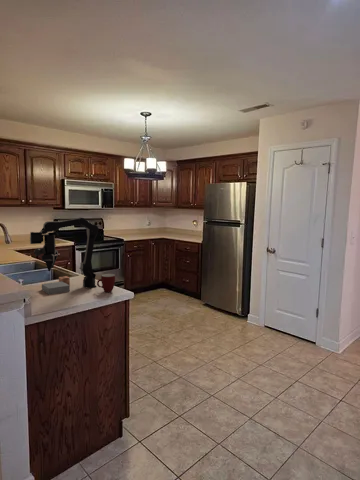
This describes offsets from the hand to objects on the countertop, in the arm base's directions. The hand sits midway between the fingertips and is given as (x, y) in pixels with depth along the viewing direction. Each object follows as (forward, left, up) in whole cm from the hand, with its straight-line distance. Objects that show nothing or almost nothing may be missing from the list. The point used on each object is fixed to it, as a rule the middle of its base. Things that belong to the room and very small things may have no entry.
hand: (50, 269), depth 185 cm
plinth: (-2, +1, -13) cm, 13 cm away
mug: (-25, +20, -13) cm, 35 cm away
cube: (-11, -9, -13) cm, 19 cm away
